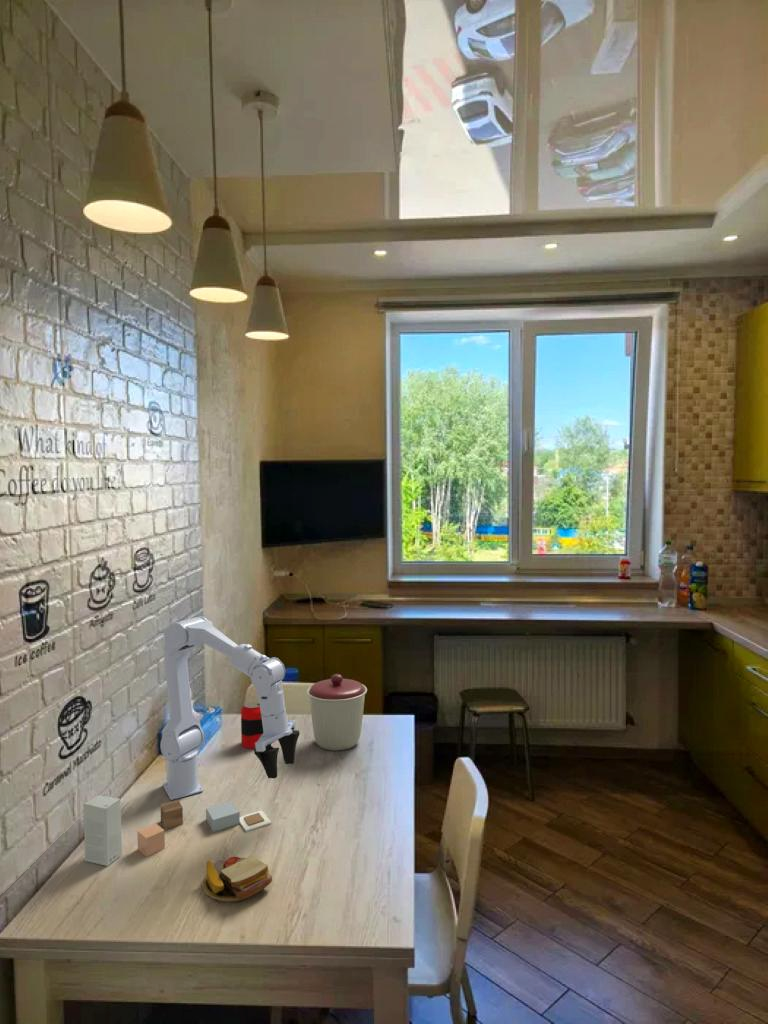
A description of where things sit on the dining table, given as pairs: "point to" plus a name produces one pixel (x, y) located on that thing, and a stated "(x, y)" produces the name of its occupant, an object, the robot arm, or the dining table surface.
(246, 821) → the swatch
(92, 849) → the skincare box
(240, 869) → the toy sandwich meal
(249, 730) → the soda can
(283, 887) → the dining table surface
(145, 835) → the terracotta cube
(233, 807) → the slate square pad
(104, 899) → the dining table surface
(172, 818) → the walnut cube
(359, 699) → the canister
